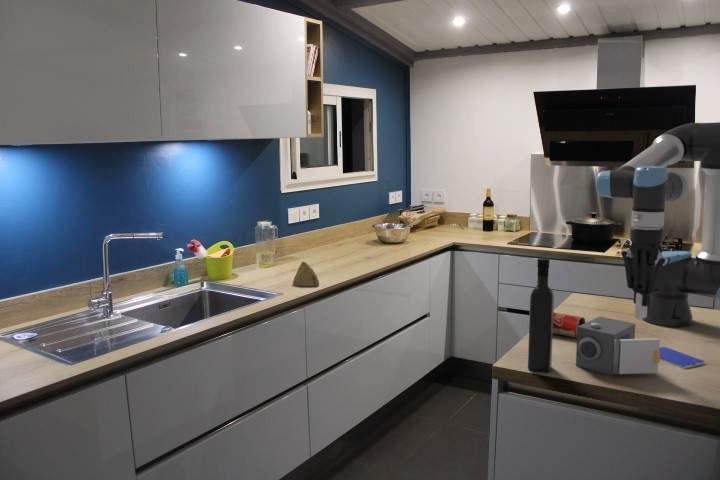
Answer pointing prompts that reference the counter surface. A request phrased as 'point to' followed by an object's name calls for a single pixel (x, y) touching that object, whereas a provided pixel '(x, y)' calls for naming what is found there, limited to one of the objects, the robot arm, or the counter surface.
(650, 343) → the side door
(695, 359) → the hard drive
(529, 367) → the wine bottle
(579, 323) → the beverage can
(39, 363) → the counter surface
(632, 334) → the grey box with knob
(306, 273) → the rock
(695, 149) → the robot arm
